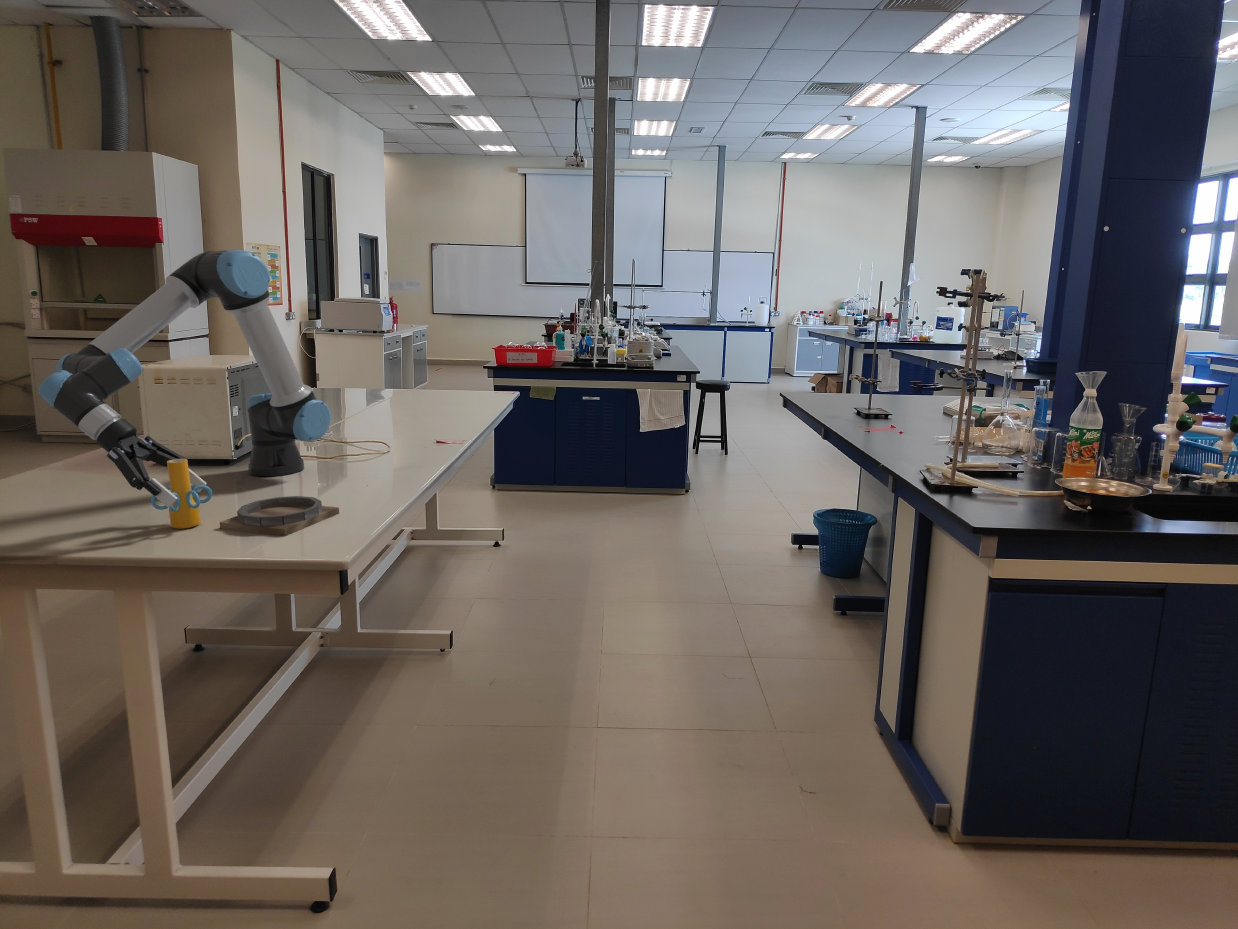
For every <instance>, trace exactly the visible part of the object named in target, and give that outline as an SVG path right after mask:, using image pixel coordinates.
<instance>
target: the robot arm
mask: <svg viewBox="0 0 1238 929" xmlns="http://www.w3.org/2000/svg"><path fill="white" fill-rule="evenodd" d="M270 282H271V274H270V270H269V268H268V266H267V264H266V263H265V262H264V261H263V259H262V258H261V257H259V256H258V255H257V254H255V253H253V252H251V251H247V250H241V249H227V250H226V249H225V250H212V251H209V250H208V251H203V252H201V253H199V254H197V255H195V256H193V257H192V258H190V259H188V261H186V262H185V263H183V264H182V265H180V266H179V267H178V268H177V269H175V270H174V271H173V272H172V273H170V274H169V275H168V276H167V277H166V278H165V282H164V283H165V284H164V285H162V286H161V287H159V288H158V289H157V290H156V291H155V292H153V293H152V294H151V295H149V296H148V297H147V298H146V299H144V300H143V301H142V302H140V303H139V304H138V305H137V306H135V307H134V308H133V309H131V310H130V311H129V312H128V313H126V314H124V316H123V317H121V318H119V319H118V320H117V321H116V322H115V323H113V324H112V325H111V326H110V327H108V328H107V329H105V331H104V332H102V333H100V335H99V336H97V337H95V339H93V340H92V341H90V342H89V343H88V344H86V345H85V346H84V347H82V348H80V350H79V351H77V352H76V353H75V352H72V353H69V354H64V355H63V356H62V357H60V359H59V360H58V361H57V363H56V368H55V370H56V372H53V373H51V374H50V375H49V376H47V377H46V378H45V379H44V380H43V381H42V382H41V383H40V385H39V387H38V395H39V396H40V397H41V398H42V399H43V400H44V401H45V402H46V403H48V405H50V406H51V408H52V409H53V410H55V411H57V412H58V413H59V414H60V415H62V416H63V417H65V418H66V419H67V420H68V421H69V422H71V423H72V424H74V425H75V426H76V427H77V428H78V429H79V430H81V431H82V432H83V433H84V435H85V436H88V437H89V438H90V439H91V440H94V441H96V444H97V445H98V446H100V447H101V448H102V449H103V450H104V451H106V452H107V454H106V457H107V459H109V460H110V461H112V463H114V465H115V466H116V467H117V469H118V470H119V472H120V473H121V475H122V476H123V477H124V479H125V480H126V481H127V482H128V484H129V485H130V487H131V488H134V489H137V490H138V491H141V490H142V489H143V488H144V489H145V490H146V491H148V492H149V493H150V494H151V495H152V496H153V495H154V496H155V497H156V498H155V499H158V500H159V501H160V502H161V503H162V504H164V506H165V505H166V506H167V507H168V508H167V509H169V507H171V506H172V505H173V504H174V502H175V501H176V500H177V499H178V498H177V497H176V496H175V495H174V494H172V493H171V490H168V489H166V487H165V486H164V485H163V484H162V483H160V482H159V481H158V480H157V479H156V478H154V477H153V478H150V477H151V476H149V473H148V471H147V469H146V466H145V465H144V461H145V462H153V463H155V464H158V465H160V466H163V467H166V468H167V469H168V467H167V461H169V460H173V459H187V458H186V457H185V456H182V454H179V453H177V452H175V451H174V450H173V449H170V448H169V447H166V446H165V445H163V444H161V443H159V442H158V441H156V440H155V439H154V438H152V437H151V436H149V435H146V436H145V437H144V438H143V439H141V437H138V436H137V427H135V426H134V425H133V424H131V423H130V422H129V421H128V420H127V419H125V418H122V415H121V414H119V412H117V411H116V410H115V409H113V408H112V407H111V406H110V405H109V404H107V403H106V402H105V400H106V399H108V398H109V397H111V396H112V395H114V394H116V393H117V392H118V391H120V390H121V389H123V388H125V387H126V386H127V385H129V384H130V383H133V382H134V381H135V380H136V379H137V378H139V377H140V376H141V375H142V373H143V366H142V364H141V362H140V360H139V359H138V357H137V356H136V355H134V353H135V352H136V351H138V350H139V349H140V348H141V347H142V346H143V345H145V344H146V343H148V342H149V341H150V340H151V339H152V338H153V337H155V336H156V335H157V334H159V332H160V333H161V331H162V330H164V329H165V328H166V327H167V326H168V325H170V324H171V323H173V322H174V320H176V319H177V318H178V317H179V316H181V315H182V314H183V313H185V312H186V311H187V310H188V309H189V308H192V309H194V308H197V307H199V306H200V305H201V304H202V303H204V302H206V301H208V300H211V299H216V298H218V300H219V301H220V303H221V306H222V307H223V309H224V311H225V312H228V313H230V314H232V315H234V318H235V320H236V322H237V325H238V326H239V329H240V330H241V334H243V336H244V338H245V340H246V344H248V347H249V349H250V351H251V354H252V355H253V357H254V360H255V361H256V364H257V366H258V368H259V371H260V372H261V374H262V377H263V379H264V381H265V382H266V383H265V384H266V385H267V387H268V389H269V391H270V392H269V393H261V394H260V393H259V394H254V395H249V397H248V398H247V406H246V407H247V408H246V409H247V410H246V411H247V412H248V419H249V420H248V421H249V422H248V423H249V429H250V438H251V452H250V458H249V463H248V464H247V467H248V468H247V469H248V474H249V475H251V476H256V477H276V476H277V477H278V476H284V475H285V476H286V475H291V474H295V473H296V474H297V473H298V472H301V471H303V470H304V469H305V463H304V459H303V458H302V456H301V453H300V451H299V448H298V446H297V443H296V440H298V441H300V442H314V441H317V440H320V439H321V438H323V436H325V435H326V433H327V432H328V431H329V428H330V425H331V422H332V413H331V410H330V408H329V406H328V404H327V403H326V402H325V401H323V400H320V399H317V398H316V395H315V393H314V390H313V388H312V387H311V386H309V385H307V384H304V382H303V380H302V378H301V375H300V374H299V371H298V369H297V367H296V364H295V362H294V360H293V358H292V356H291V354H290V351H289V350H288V347H287V344H286V342H285V340H284V338H283V335H282V333H281V332H280V329H279V327H278V324H277V322H276V319H275V317H274V316H273V314H272V311H271V309H270V307H269V305H268V301H269V299H270V297H271V295H270V292H269V287H270ZM189 476H190V483H191V484H193V485H194V487H197V486H199V485H205V486H207V483H208V482H206V481H205V480H203V479H202V478H201V477H200V476H199V475H198V474H196V473H195V472H194V471H193V470H192V469H191V468H189ZM202 490H203V488H202V489H198V490H197V491H196V493H200V492H201V491H202Z"/></svg>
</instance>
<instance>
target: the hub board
mask: <svg viewBox="0 0 1238 929" xmlns="http://www.w3.org/2000/svg"><path fill="white" fill-rule="evenodd" d="M236 514H237V515H236V516H233V517H230V518H227V519H225V520H222V521H219V527H220V529H221V530H228V531H229V530H230V531H238V532H245V533H246V532H248V533H257V534H265V535H275V536H282V537H286V536H288V534H289V535H290V534H291V535H292V534H293V532H294V533H296V532H298V531H301V530H304V529H306V528H308V527H311V526H312V525H315V524H317V523H319V522H322V521H325V520H327V519H329V518H332V517H334V516H336V514H337V515H339V514H340V508H339V507H338V506H332V505H331V506H330V505H329V506H328V505H323V504H322V500H320V499H318V498H316V497H313V496H304V495H303V496H302V495H293V496H292V495H291V496H289V495H288V496H276V497H271V498H266V499H260V500H256V501H252V502H250V503H246V504H244V505H242V506H240V507H239V509H237V511H236ZM305 527H306V528H305Z"/></svg>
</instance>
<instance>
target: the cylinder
mask: <svg viewBox="0 0 1238 929" xmlns="http://www.w3.org/2000/svg"><path fill="white" fill-rule="evenodd" d="M188 462H189V461H188V459H187V458H186V459H173V460H169V461H167V467H168V468H167V467H166V468H167V473H168V479H169V485H168V486H166V487H165V488H166V489H168V490H169V491H170V492H171V493H172V494H174V495H175V496H176V497H177V498H178V499H177V500H176V501H175V502H174V504H173V505H172V506H171V507H169V508H168V507H167V506H166V505H165V504H164V505H158V504H157V503H156V499H157V498H156V497H155V496H154V495H152V496H151V498H150V502H151V506H152V507H153V508H155V509H156V510H161V511H163V510H166V509H168V514H169V520H170V527H171V528H172V529H177V530H178V529H189V528H194V527H196V526H199V525H200V524H201V522H202V519H201V514H200V505H201V504H205V503H208V502H209V501H210V500H211V499H212V497H213V491H212V488H210V487H209V486H208V485H199V486H197V487H194V485H193V484H191V483H190V476H189V469H190V468H189V463H188ZM202 488H203V489H204V490H206V491H207V493H208V495H207V496H206V498H205V499H200V497H199V494H198V492H197V490H198V489H202ZM203 489H202V490H203Z"/></svg>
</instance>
